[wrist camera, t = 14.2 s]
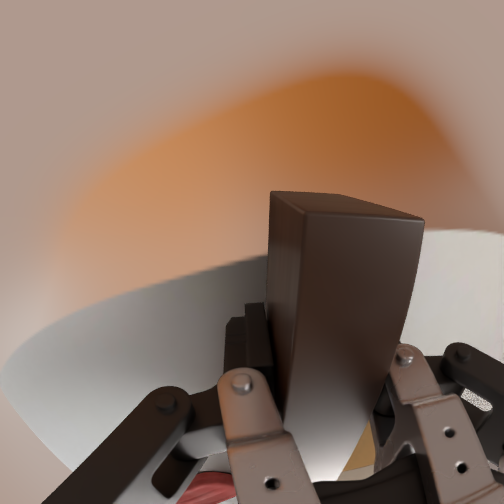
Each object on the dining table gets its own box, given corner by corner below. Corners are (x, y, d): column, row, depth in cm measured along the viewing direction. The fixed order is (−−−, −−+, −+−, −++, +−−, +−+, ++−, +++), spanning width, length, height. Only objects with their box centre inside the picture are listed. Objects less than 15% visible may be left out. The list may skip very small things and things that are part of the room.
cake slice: (295, 458, 17) (304, 510, 12) (305, 426, 15) (319, 489, 11) (365, 446, 17) (381, 492, 13) (385, 412, 16) (409, 465, 11)
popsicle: (140, 506, 19) (206, 481, 16) (142, 495, 21) (207, 465, 17) (175, 516, 20) (252, 492, 17) (176, 506, 22) (251, 476, 18)
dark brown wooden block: (244, 492, 16) (247, 544, 11) (249, 190, 10) (261, 210, 5) (294, 489, 16) (303, 539, 11) (357, 195, 10) (449, 221, 5)
